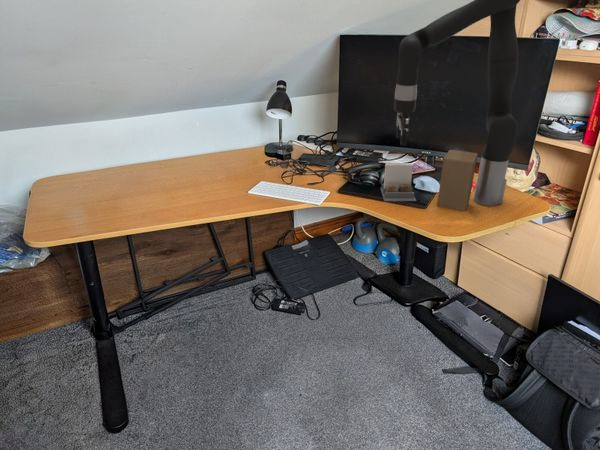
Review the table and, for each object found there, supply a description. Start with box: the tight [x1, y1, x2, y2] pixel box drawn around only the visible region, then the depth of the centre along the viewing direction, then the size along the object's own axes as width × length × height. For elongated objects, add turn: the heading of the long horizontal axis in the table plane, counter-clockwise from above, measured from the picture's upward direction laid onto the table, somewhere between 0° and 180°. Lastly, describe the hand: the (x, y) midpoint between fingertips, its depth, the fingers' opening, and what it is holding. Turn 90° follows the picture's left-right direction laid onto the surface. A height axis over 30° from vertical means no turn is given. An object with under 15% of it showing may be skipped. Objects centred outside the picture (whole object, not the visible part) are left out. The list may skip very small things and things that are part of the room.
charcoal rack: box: [380, 183, 417, 202], centre depth 175 cm, size 12×12×4 cm
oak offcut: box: [386, 185, 398, 192], centre depth 173 cm, size 4×2×4 cm, turn 88°
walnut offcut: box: [399, 184, 413, 192], centre depth 173 cm, size 4×2×4 cm, turn 88°
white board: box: [383, 162, 414, 188], centre depth 175 cm, size 10×2×11 cm, turn 88°
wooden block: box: [436, 149, 478, 212], centre depth 163 cm, size 10×10×20 cm
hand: (401, 141), depth 168 cm, fingers open, 8 cm apart
